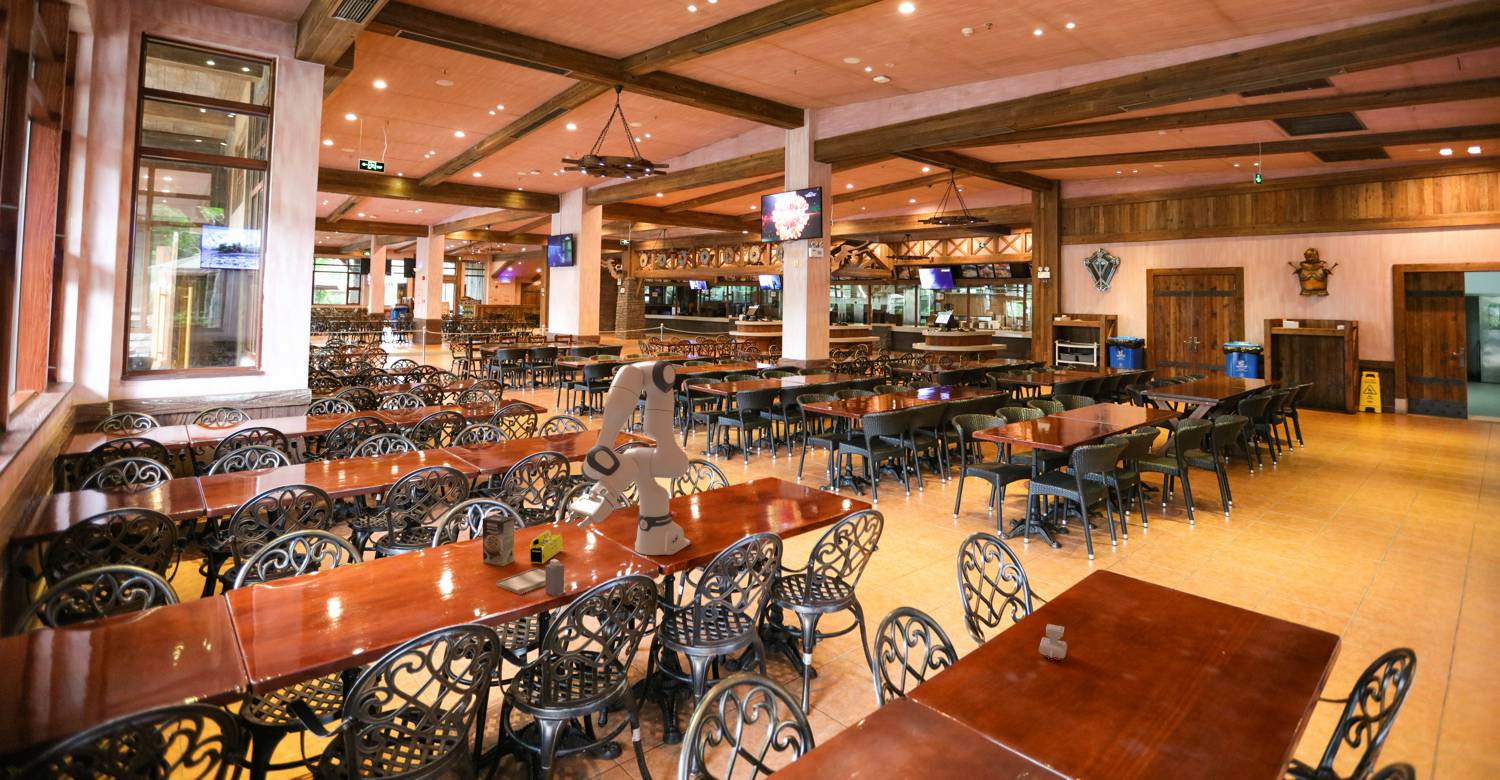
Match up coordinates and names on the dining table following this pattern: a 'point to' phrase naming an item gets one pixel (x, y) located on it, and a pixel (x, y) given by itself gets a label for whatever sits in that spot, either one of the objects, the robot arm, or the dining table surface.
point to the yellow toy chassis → (545, 547)
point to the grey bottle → (554, 577)
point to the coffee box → (498, 540)
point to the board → (524, 581)
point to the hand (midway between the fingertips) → (572, 526)
